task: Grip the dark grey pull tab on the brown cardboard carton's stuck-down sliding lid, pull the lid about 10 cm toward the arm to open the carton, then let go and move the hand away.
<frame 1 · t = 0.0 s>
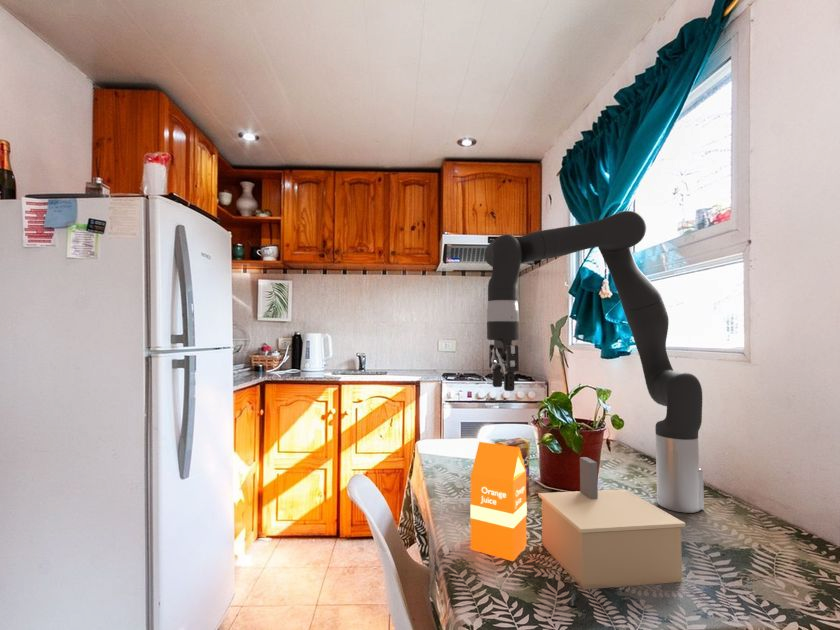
hand: (503, 388, 103), 29 cm above the table, tool pointing down, fingers open, 8 cm apart
candy box: (511, 502, 111), on the table
carton: (606, 561, 81), on the table
carton lid: (605, 489, 82), point 13 cm above the table, slide at 0.0 cm
orange juice: (498, 548, 86), on the table
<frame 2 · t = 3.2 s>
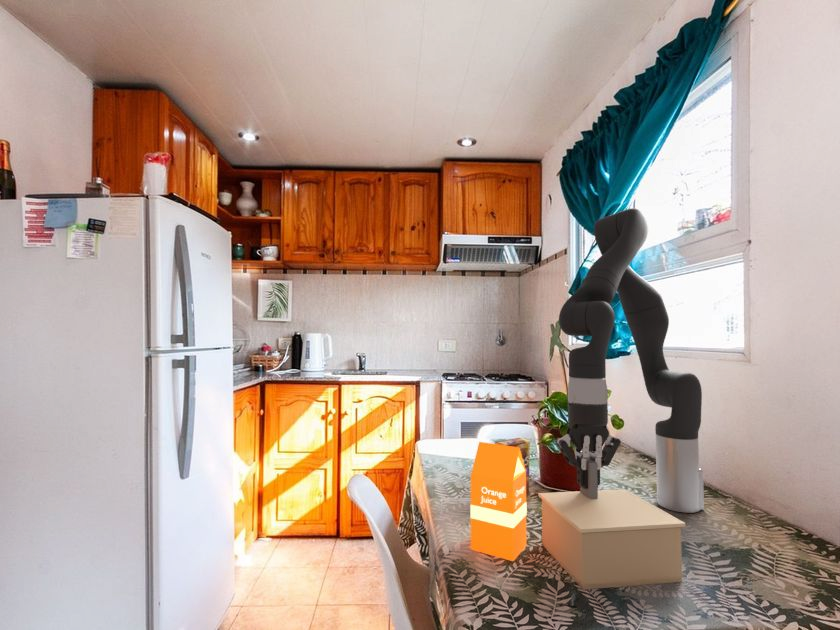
hand: (588, 487, 88), 12 cm above the table, tool pointing down, fingers closed
carton lid: (605, 489, 82), point 13 cm above the table, slide at 0.0 cm, touching gripper
everything else where it was.
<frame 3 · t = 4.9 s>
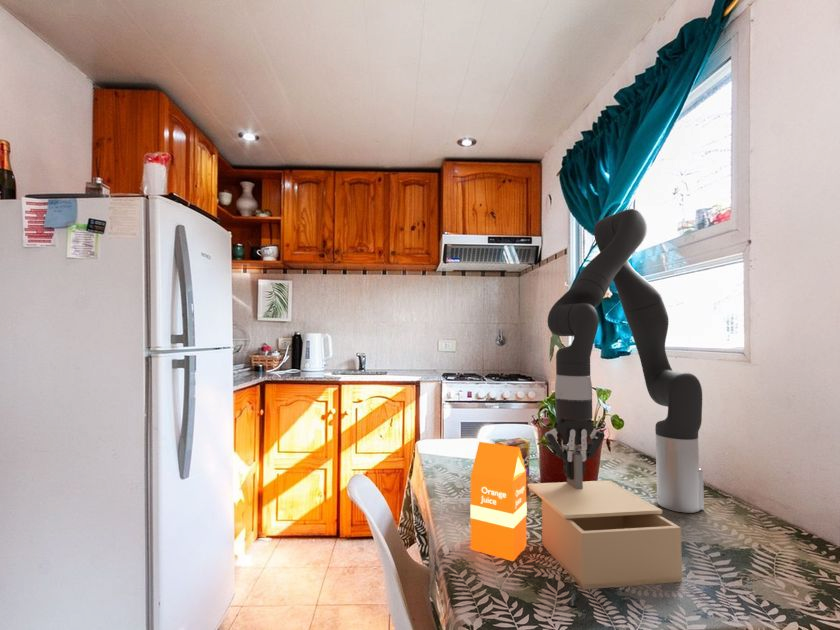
hand: (574, 478, 93), 12 cm above the table, tool pointing down, fingers closed
carton lid: (589, 479, 87), point 13 cm above the table, slide at 5.8 cm, touching gripper
everything else where it was.
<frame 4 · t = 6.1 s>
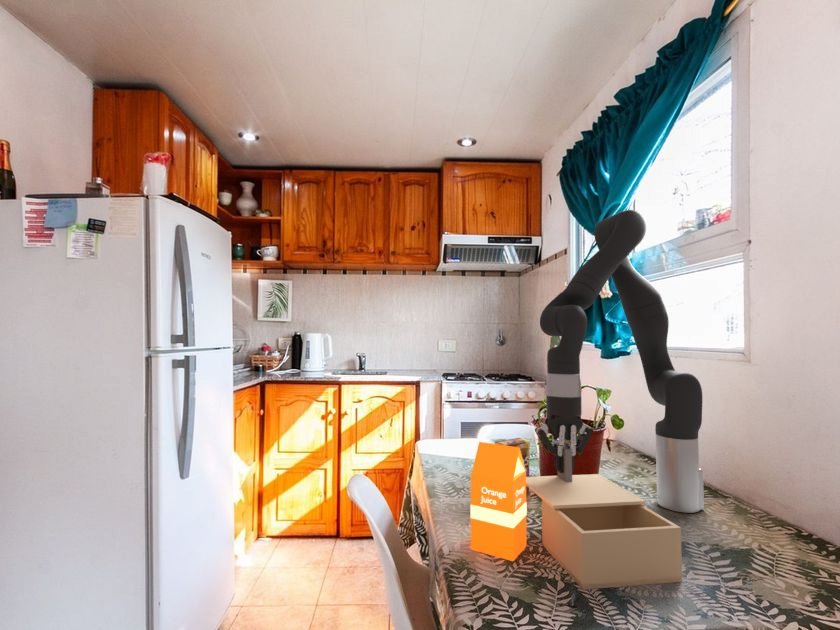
hand: (564, 471, 98), 12 cm above the table, tool pointing down, fingers closed
carton lid: (577, 472, 92), point 13 cm above the table, slide at 10.3 cm, touching gripper
everything else where it was.
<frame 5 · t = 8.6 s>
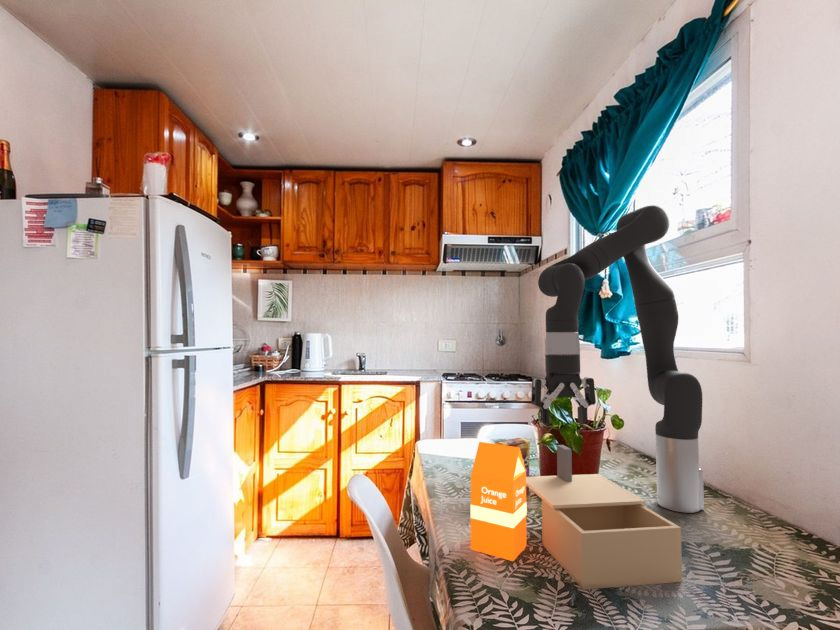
hand: (563, 424, 98), 22 cm above the table, tool pointing down, fingers open, 8 cm apart
carton lid: (577, 472, 92), point 13 cm above the table, slide at 10.4 cm
everything else where it was.
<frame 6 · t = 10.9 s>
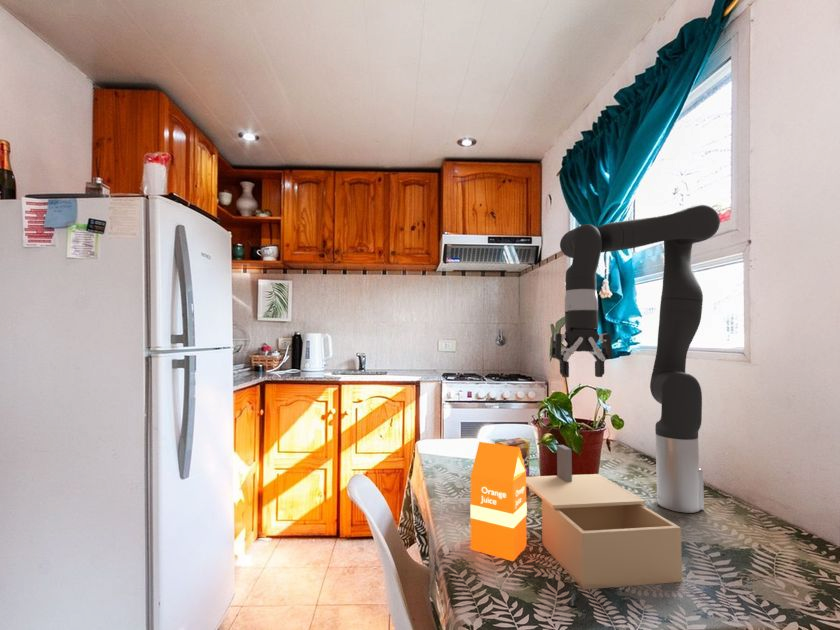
hand: (582, 377, 104), 32 cm above the table, tool pointing down, fingers open, 8 cm apart
nothing on the table moved.
at the end: carton lid slide at 10.4 cm; the gripper is holding nothing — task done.
